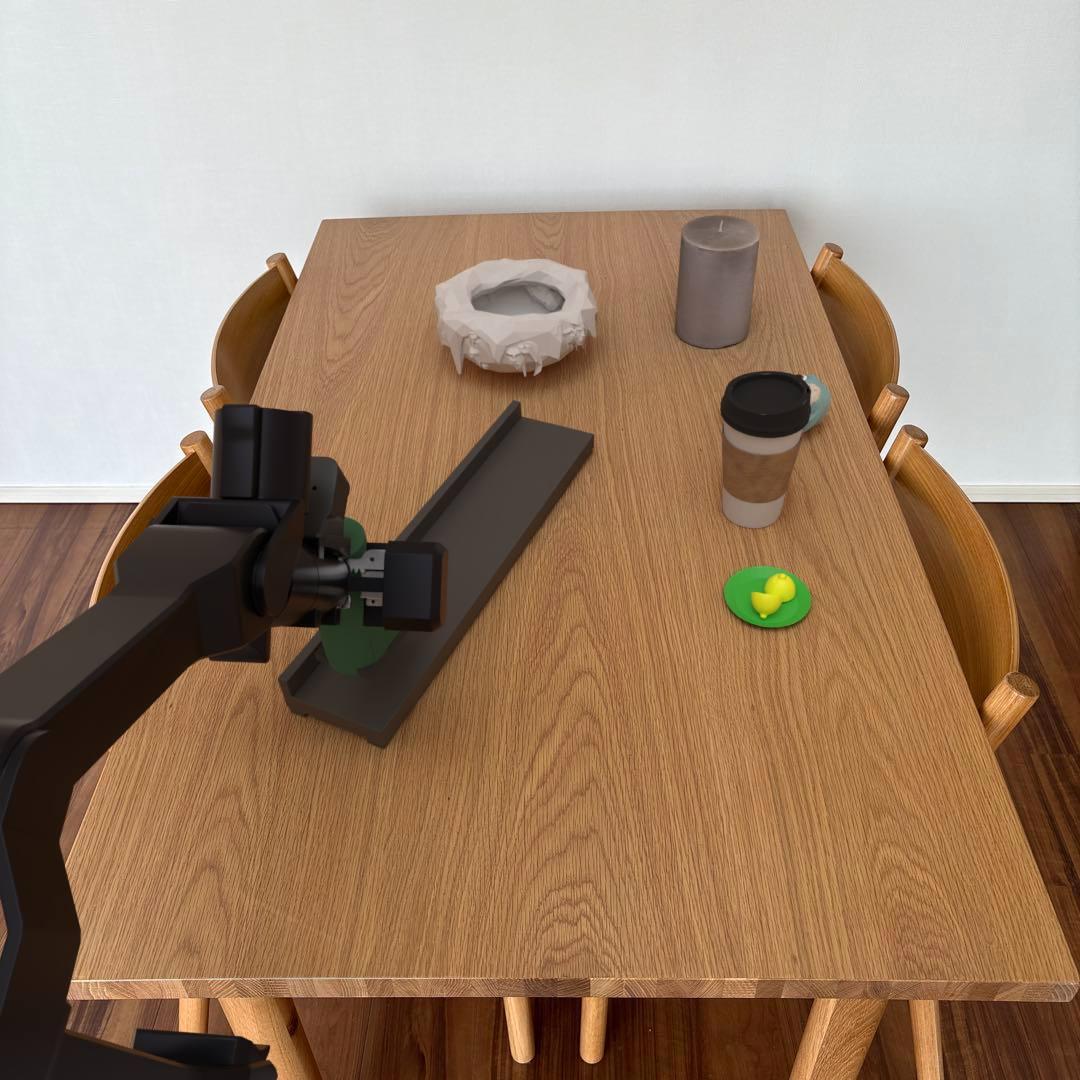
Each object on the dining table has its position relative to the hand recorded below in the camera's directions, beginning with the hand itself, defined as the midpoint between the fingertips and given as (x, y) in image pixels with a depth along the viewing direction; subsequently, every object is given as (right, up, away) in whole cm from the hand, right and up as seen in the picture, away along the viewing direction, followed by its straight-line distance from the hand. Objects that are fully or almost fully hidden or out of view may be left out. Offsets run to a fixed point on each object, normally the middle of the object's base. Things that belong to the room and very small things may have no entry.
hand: (348, 583), depth 75 cm
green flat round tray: (+36, -2, +15) cm, 39 cm away
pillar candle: (+38, +31, +51) cm, 71 cm away
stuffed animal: (+42, +17, +35) cm, 58 cm away
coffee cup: (+37, +6, +24) cm, 45 cm away
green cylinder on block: (+1, -4, +5) cm, 7 cm away
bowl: (+12, +27, +48) cm, 57 cm away
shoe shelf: (+7, +1, +20) cm, 21 cm away
